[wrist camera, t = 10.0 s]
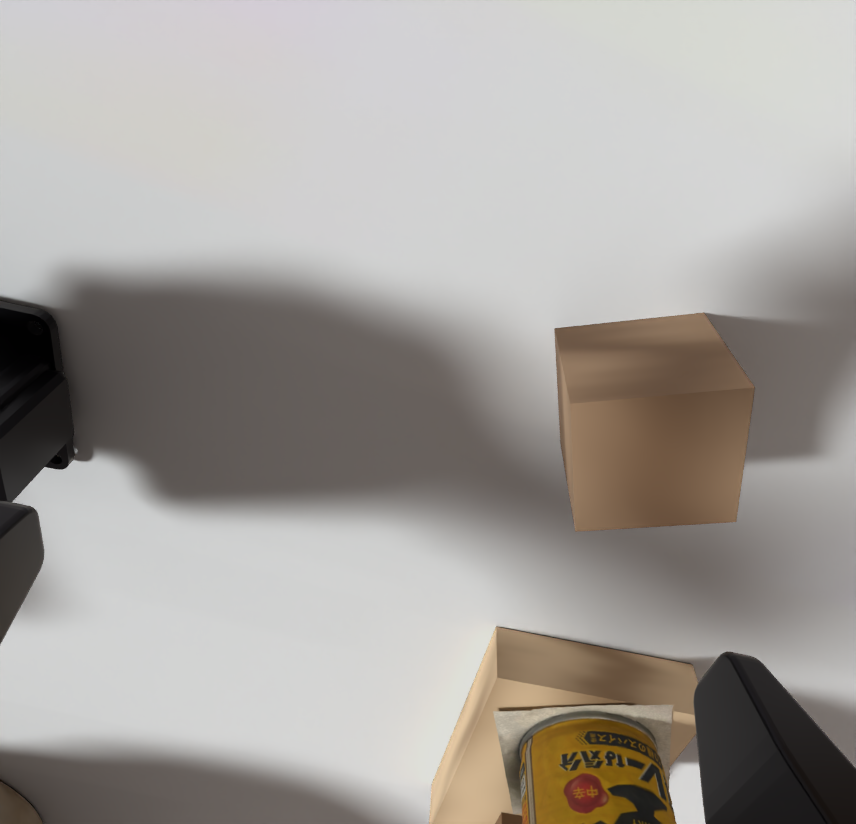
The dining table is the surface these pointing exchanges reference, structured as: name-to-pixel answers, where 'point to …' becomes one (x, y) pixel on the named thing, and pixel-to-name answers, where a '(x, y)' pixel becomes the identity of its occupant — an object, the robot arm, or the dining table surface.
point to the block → (651, 422)
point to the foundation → (545, 688)
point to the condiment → (588, 764)
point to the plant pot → (16, 808)
